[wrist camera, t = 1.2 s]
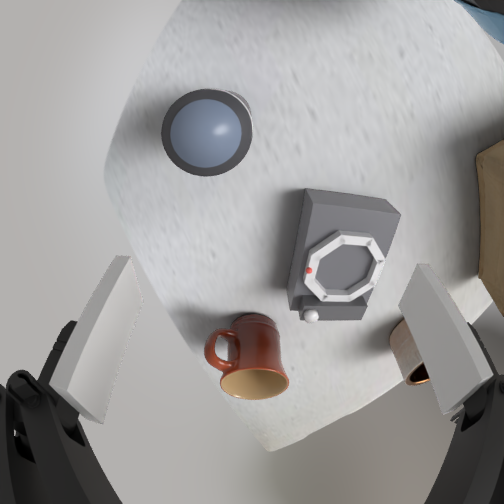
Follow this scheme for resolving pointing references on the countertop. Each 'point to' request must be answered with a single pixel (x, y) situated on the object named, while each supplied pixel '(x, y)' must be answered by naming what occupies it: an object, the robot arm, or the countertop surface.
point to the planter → (408, 355)
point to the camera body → (339, 254)
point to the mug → (249, 358)
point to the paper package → (492, 221)
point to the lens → (207, 131)
